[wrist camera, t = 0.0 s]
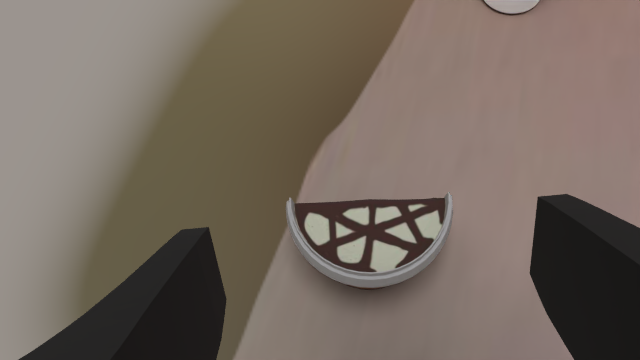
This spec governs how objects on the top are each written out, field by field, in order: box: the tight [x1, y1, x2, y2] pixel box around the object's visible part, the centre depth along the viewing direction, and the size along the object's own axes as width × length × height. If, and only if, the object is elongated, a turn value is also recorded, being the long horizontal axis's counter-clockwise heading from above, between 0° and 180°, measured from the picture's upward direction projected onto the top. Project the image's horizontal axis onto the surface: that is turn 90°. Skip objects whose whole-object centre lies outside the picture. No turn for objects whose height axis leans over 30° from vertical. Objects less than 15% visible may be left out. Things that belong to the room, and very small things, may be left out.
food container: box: [286, 192, 453, 290], centre depth 39 cm, size 12×6×10 cm, turn 91°
